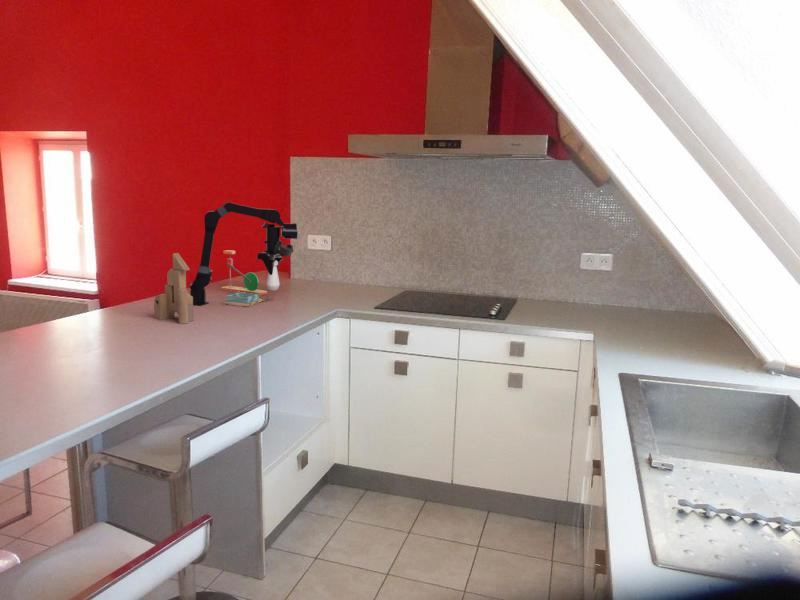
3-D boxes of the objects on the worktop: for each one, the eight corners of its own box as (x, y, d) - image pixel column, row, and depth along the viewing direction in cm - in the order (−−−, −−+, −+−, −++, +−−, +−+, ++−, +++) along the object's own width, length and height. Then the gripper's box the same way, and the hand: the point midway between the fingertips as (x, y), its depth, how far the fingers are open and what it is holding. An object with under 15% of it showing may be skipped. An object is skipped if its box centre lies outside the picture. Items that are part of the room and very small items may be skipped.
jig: (248, 307, 246) (248, 298, 245) (222, 304, 249) (222, 296, 248) (268, 300, 263) (268, 291, 262) (244, 297, 266) (244, 289, 265)
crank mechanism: (219, 289, 284) (219, 250, 280) (229, 288, 290) (229, 249, 286) (259, 295, 273) (259, 255, 269) (268, 293, 278) (268, 253, 275)
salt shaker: (274, 288, 260) (274, 259, 258) (282, 289, 256) (282, 260, 254) (263, 289, 255) (263, 259, 253) (271, 291, 252) (271, 261, 250)
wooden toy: (153, 318, 218) (150, 252, 213) (167, 315, 223) (165, 251, 219) (183, 324, 211) (181, 256, 206) (197, 321, 217) (195, 254, 212)
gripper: (280, 241, 241) (280, 278, 244) (299, 238, 259) (298, 273, 262) (256, 239, 244) (256, 276, 246) (276, 236, 261) (276, 271, 264)
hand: (273, 274), depth 255 cm, fingers closed on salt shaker, 3 cm apart
